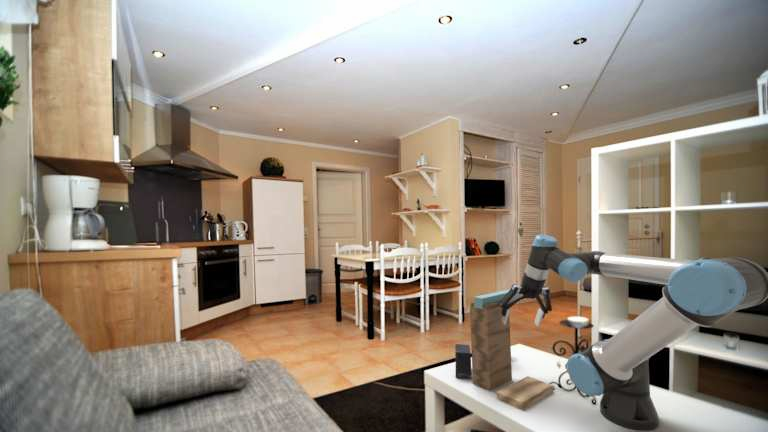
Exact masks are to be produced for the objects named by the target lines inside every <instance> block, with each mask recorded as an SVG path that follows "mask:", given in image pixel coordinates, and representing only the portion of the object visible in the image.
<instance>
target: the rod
mask: <svg viewBox="0 0 768 432" xmlns="http://www.w3.org/2000/svg"><path fill="white" fill-rule="evenodd" d="M510 289H511V288H510ZM510 289H505V290H500V291H495V292H491V293H486V294H482V295H476V296H473V302H474V307H475V308H479V309H483V305H486V304H490V303H494V302H499V301H501V300H502V298H503V297H504V296H505V295H506V294H507V293H508V292H509V290H510ZM516 294H517V293H516ZM516 294H515V295H516Z"/></svg>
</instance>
